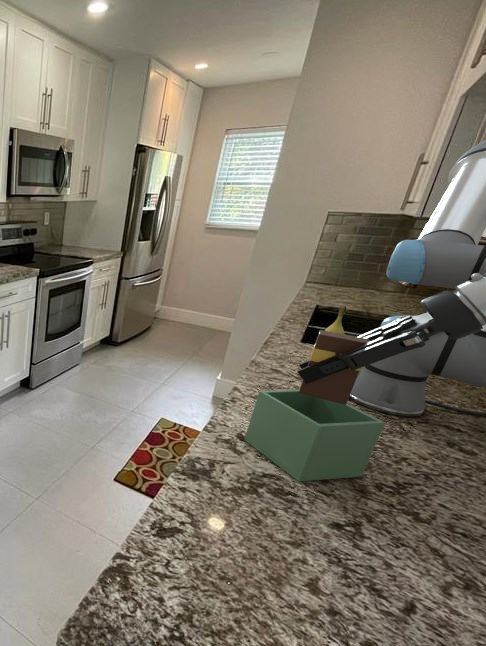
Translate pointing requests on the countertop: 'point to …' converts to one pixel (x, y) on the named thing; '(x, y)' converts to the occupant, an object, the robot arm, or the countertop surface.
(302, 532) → the countertop surface
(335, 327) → the banana
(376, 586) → the countertop surface
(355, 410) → the trash bin
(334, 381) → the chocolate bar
